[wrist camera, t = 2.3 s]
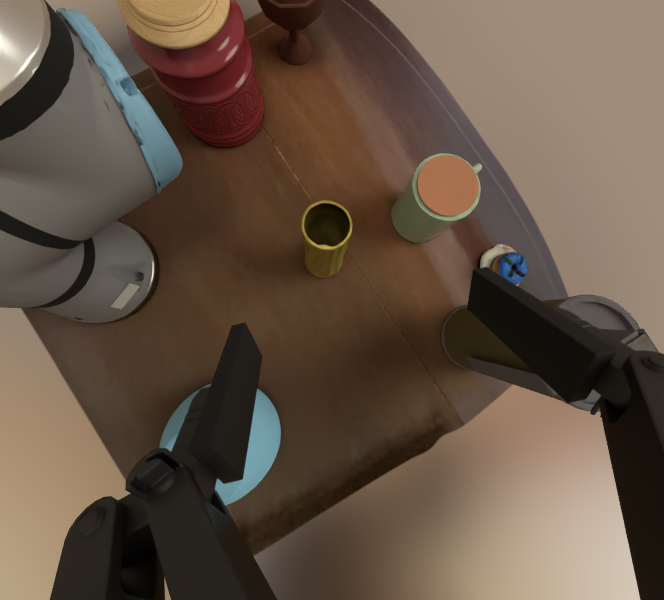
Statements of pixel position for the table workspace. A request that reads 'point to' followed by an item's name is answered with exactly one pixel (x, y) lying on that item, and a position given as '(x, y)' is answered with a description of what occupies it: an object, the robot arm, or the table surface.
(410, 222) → the mug
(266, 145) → the table surface
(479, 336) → the canister
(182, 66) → the kitchen canister
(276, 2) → the ice cream bowl
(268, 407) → the sugar bowl
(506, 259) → the dessert
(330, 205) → the vase
